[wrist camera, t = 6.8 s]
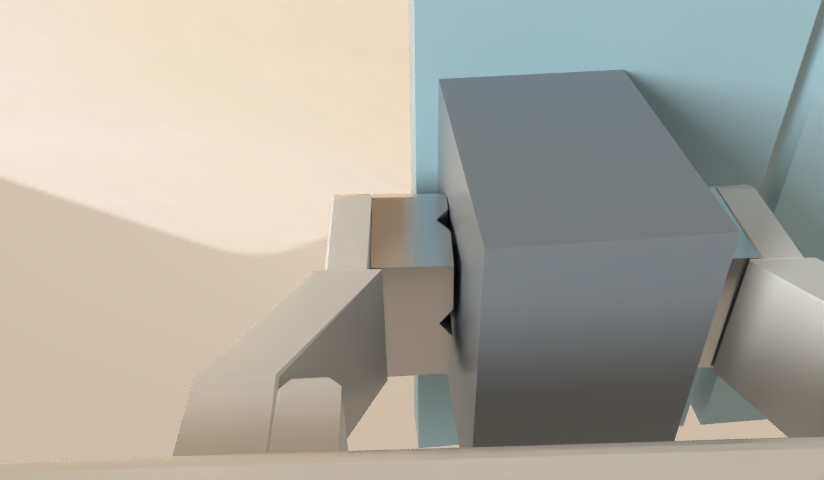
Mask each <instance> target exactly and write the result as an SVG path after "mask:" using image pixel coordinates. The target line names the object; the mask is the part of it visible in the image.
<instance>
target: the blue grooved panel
mask: <svg viewBox="0 0 824 480" xmlns="http://www.w3.org/2000/svg"><path fill="white" fill-rule="evenodd" d="M409 45H410V115H411V186H412V194H446V197H447V205H448V230H450V231H451V241H452V251H453V262H454V292H453V310H452V311H451V312H450V314H451V326H452V360H451V373H445V374H426V375H414V394H415V396H414V398H415V421H416V429H417V438H418V446H419V448H423V447H437V446H449V445H459V446H460V448H466V447H499V446H531V445H564V444H596V443H628V442H661V441H674V439H675V437H676V433H677V430H678V427H679V426H683V425H684V422H685V419H686V416H687V413H688V409H689V406H690V404H691V406H692V408H693V410H694V412H695V414H696V416H697V418H698V420H699V422H700V424H701V425H702V424H713V423H726V422H738V421H750V420H762V419H767V418H766V417H765V416H763V415H762V414H761V413H760V412H759V411H758V410H757V409H756V408H754V407H753V406H752V405H751V404H750V403H749V402H748V401H746V400H745V399H744V398H743V397H742V396H741V395H740V394H738V393H737V392H736V391H735V390H734V389H733V388H732V387H731V386H729V385H728V384H727V383H726V382H725V381H724V380H723V379H721V378H720V377H719V376H718V375H717V374H716V373H715V372H713V371H712V369H713V367H698V365H699V362H700V358H701V355H702V352H703V349H704V346H705V343H706V340H707V337H708V333H709V330H710V327H711V324H712V321H713V318H714V315H715V312H716V308H717V305H718V302H719V299H720V296H721V293H722V290H723V286H724V283H725V280H726V277H727V274H728V271H729V268H730V265H731V261H732V258H733V255H734V252H735V249H736V246H737V243H738V240H739V236H740V233H741V232H740V230H739V229H738V228H737V226H736V225H735V223H734V222H733V221H732V219H731V218H730V217H729V215H728V214H727V212H726V211H725V210H724V208H723V207H722V205H721V204H720V203H719V201H718V200H717V199H716V197H715V196H714V194H713V193H712V192H711V190H710V189H709V187H710V186H724V185H741V184H748V185H750V186H752V187H754V188H755V189H756V190H757V192H758V193H759V195H760V196H761V197H762V199H763V200H764V202H765V203H766V205H767V206H768V207H769V209H770V210H771V212H772V213H773V215H774V216H775V217H776V219H777V220H778V222H779V223H780V224H781V226H782V227H783V229H784V230H785V232H786V233H787V234H788V236H789V237H790V239H791V240H792V241H793V243H794V244H795V246H796V247H797V249H798V250H799V251H800V253H801V254H802V256H803V257H804V258H817V259H819V260H821V261H823V262H824V0H409Z"/></svg>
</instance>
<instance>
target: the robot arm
mask: <svg viewBox="0 0 824 480" xmlns="http://www.w3.org/2000/svg"><path fill="white" fill-rule="evenodd" d="M709 189H710V190H711V192H712V193H713V194H714V196H715V197H716V199H717V200H718V201H719V203H720V204H721V205H722V207H723V208H724V210H725V211H726V212H727V214H728V215H729V217H730V218H731V219H732V221H733V222H734V223H735V225H736V226H737V228H738V229H739V230H740V232H741V233H740V236H739V240H738V243H737V246H736V249H735V252H734V255H733V258H732V261H731V265H730V268H729V271H728V274H727V277H726V280H725V283H724V286H723V290H722V293H721V296H720V299H719V302H718V305H717V308H716V312H715V315H714V318H713V321H712V324H711V327H710V330H709V333H708V337H707V340H706V343H705V346H704V349H703V352H702V355H701V358H700V362H699V365H698V367H713V369H712V371H713V372H715V373H716V374H717V375H718V376H719V377H720V378H721V379H723V380H724V381H725V382H726V383H727V384H728V385H729V386H731V387H732V388H733V389H734V390H735V391H736V392H737V393H738V394H740V395H741V396H742V397H743V398H744V399H745V400H746V401H748V402H749V403H750V404H751V405H752V406H753V407H754V408H756V409H757V410H758V411H759V412H760V413H761V414H762V415H763V416H765V417H766V418H767V419H768V420H769V421H770V422H771V423H773V424H774V425H775V426H776V427H777V428H778V429H779V430H781V431H782V432H783V433H784V434H785V435H786V436H787V437H788V438H760V439H727V440H726V439H725V440H696V441H695V440H693V441H661V442H628V443H596V444H564V445H531V446H499V447H466V448H435V449H402V450H401V449H399V450H367V451H366V450H365V451H348V446H347V438H348V436H349V435H350V434H351V432H352V431H353V429H354V428H355V426H356V425H357V423H358V422H359V421H360V419H361V418H362V416H363V415H364V413H365V412H366V410H367V409H368V407H369V406H370V405H371V403H372V402H373V400H374V399H375V397H376V396H377V394H378V393H379V391H380V390H381V388H382V387H383V386H384V384H385V383H386V381H387V377H388V376H389V377H390V376H406V375H407V376H408V375H426V374H445V373H451V360H452V326H451V314H450V312H451V311H452V310H453V292H454V262H453V251H452V241H451V231H450V230H448V205H447V197H446V194H373V196H371V195H370V194H356V195H335V196H334V198H333V199H332V204H331V214H330V224H329V234H328V244H327V254H326V264H325V271H313V272H312V273H311V274H310V275H309V276H308V277H307V278H305V279H304V280H303V281H302V282H301V283H300V284H299V285H298V286H297V287H295V288H294V289H293V290H292V291H291V292H290V293H289V294H288V295H287V296H286V297H284V298H283V299H282V300H281V301H280V302H279V303H278V304H276V305H275V306H274V307H273V308H272V309H271V310H270V311H269V312H267V313H266V314H265V315H264V316H263V317H262V318H261V319H260V320H259V321H257V322H256V323H255V324H254V325H253V326H252V327H251V328H250V329H249V330H247V331H246V332H245V333H244V334H243V335H242V336H241V337H239V338H238V339H237V340H236V341H235V342H234V343H233V344H232V345H231V346H229V347H228V348H227V349H226V350H225V351H224V352H223V353H222V354H221V355H220V356H218V357H217V358H216V359H215V360H214V361H213V362H212V363H210V364H209V365H208V366H207V367H206V368H205V369H204V370H203V371H201V372H200V373H199V374H198V375H197V376H196V377H195V378H194V379H193V383H192V387H191V391H190V394H189V398H188V401H187V405H186V409H185V412H184V416H183V420H182V423H181V427H180V431H179V434H178V438H177V442H176V445H175V449H174V453H173V456H165V457H134V458H133V457H132V458H131V457H130V458H98V459H65V460H64V459H63V460H30V461H0V480H824V262H823V261H821V260H819V259H817V258H804V257H803V256H802V254H801V253H800V251H799V250H798V249H797V247H796V246H795V244H794V243H793V241H792V240H791V239H790V237H789V236H788V234H787V233H786V232H785V230H784V229H783V227H782V226H781V224H780V223H779V222H778V220H777V219H776V217H775V216H774V215H773V213H772V212H771V210H770V209H769V207H768V206H767V205H766V203H765V202H764V200H763V199H762V197H761V196H760V195H759V193H758V192H757V190H756V189H755V188H754V187H752V186H750V185H748V184H741V185H724V186H710V187H709Z"/></svg>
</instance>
